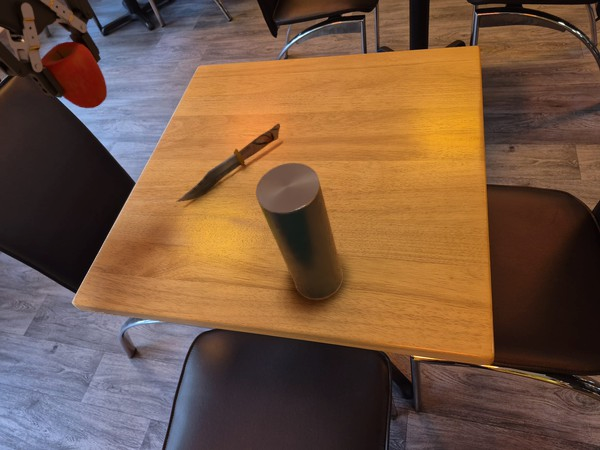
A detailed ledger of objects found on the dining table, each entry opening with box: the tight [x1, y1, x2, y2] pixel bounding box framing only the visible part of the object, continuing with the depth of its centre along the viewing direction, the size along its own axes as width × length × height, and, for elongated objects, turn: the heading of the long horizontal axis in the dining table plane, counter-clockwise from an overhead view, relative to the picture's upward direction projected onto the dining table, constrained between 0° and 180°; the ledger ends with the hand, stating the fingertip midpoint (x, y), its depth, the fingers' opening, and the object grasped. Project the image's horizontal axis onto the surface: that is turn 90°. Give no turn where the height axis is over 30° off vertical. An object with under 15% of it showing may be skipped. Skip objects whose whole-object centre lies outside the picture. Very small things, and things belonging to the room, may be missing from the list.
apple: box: [41, 41, 108, 109], centre depth 54 cm, size 6×6×8 cm
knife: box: [175, 123, 281, 203], centre depth 84 cm, size 25×1×5 cm, turn 126°
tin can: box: [255, 162, 344, 301], centre depth 60 cm, size 8×8×22 cm
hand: (76, 77), depth 54 cm, fingers closed on apple, 6 cm apart
